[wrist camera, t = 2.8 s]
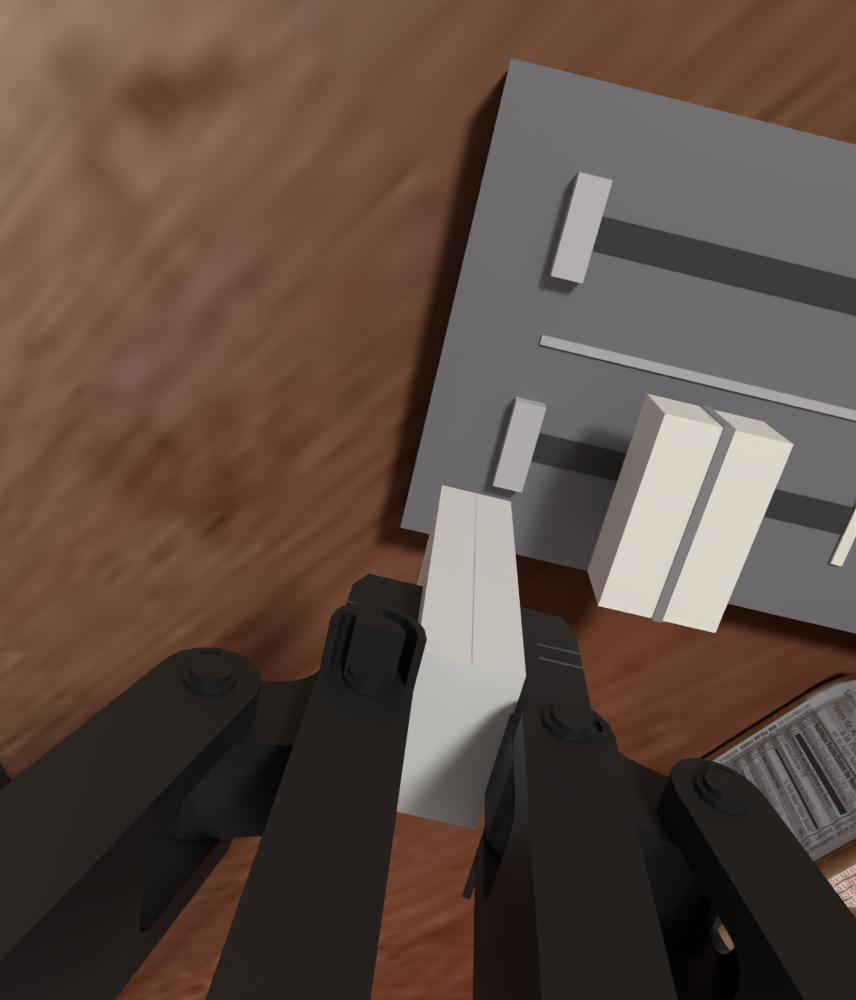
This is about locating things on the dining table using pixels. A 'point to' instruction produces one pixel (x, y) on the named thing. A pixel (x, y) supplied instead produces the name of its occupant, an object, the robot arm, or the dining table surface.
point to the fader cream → (685, 512)
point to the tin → (808, 777)
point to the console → (652, 323)
